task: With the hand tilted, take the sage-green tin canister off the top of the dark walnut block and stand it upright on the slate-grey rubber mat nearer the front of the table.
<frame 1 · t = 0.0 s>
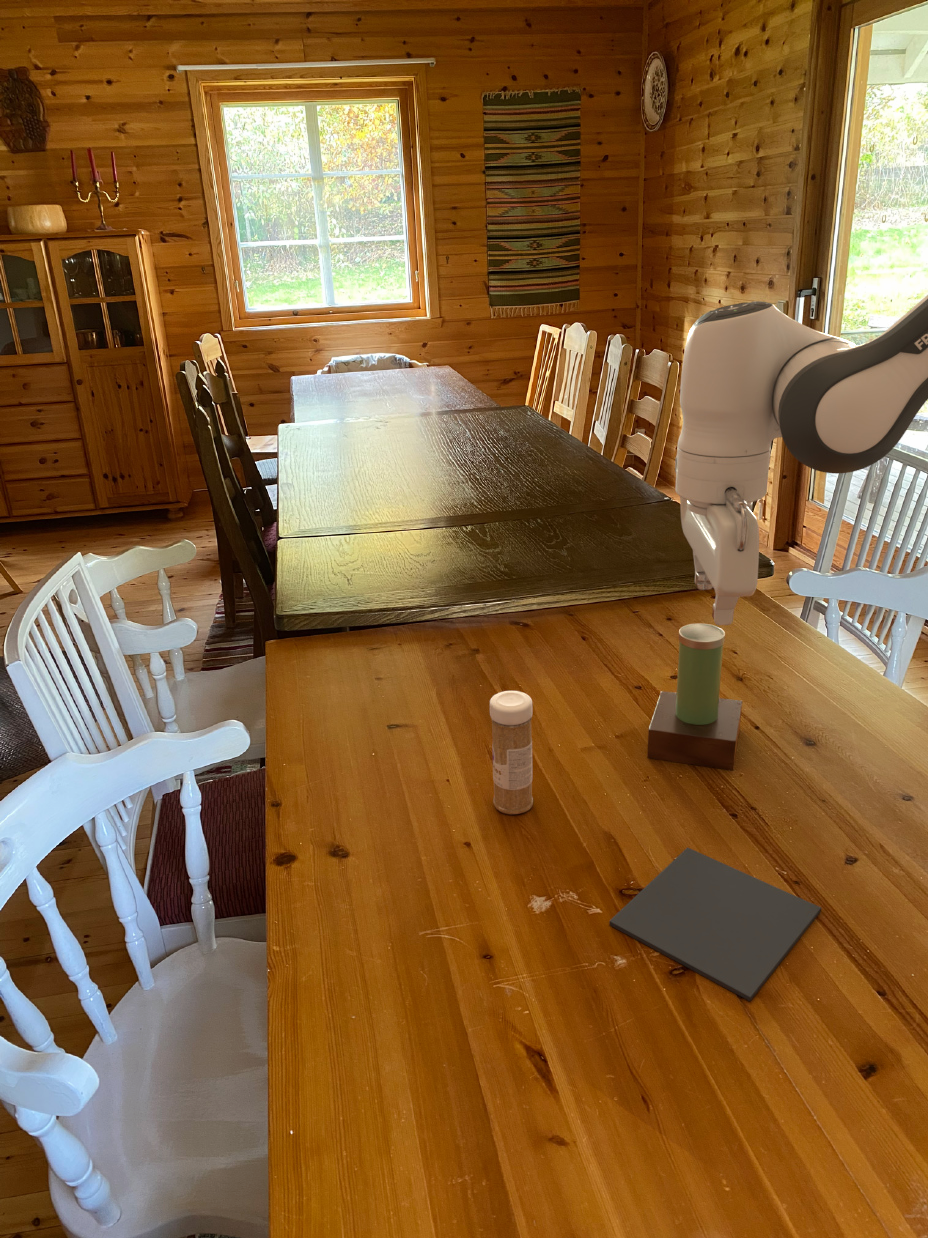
hand: (712, 604, 96), 22 cm above the table, tool pointing down, fingers open, 8 cm apart
walnut block: (694, 743, 113), on the table, touching green canister
rubber mat: (715, 918, 85), on the table
sprinkles bottle: (513, 806, 103), on the table
green canister: (696, 714, 111), point 4 cm above the table, touching walnut block
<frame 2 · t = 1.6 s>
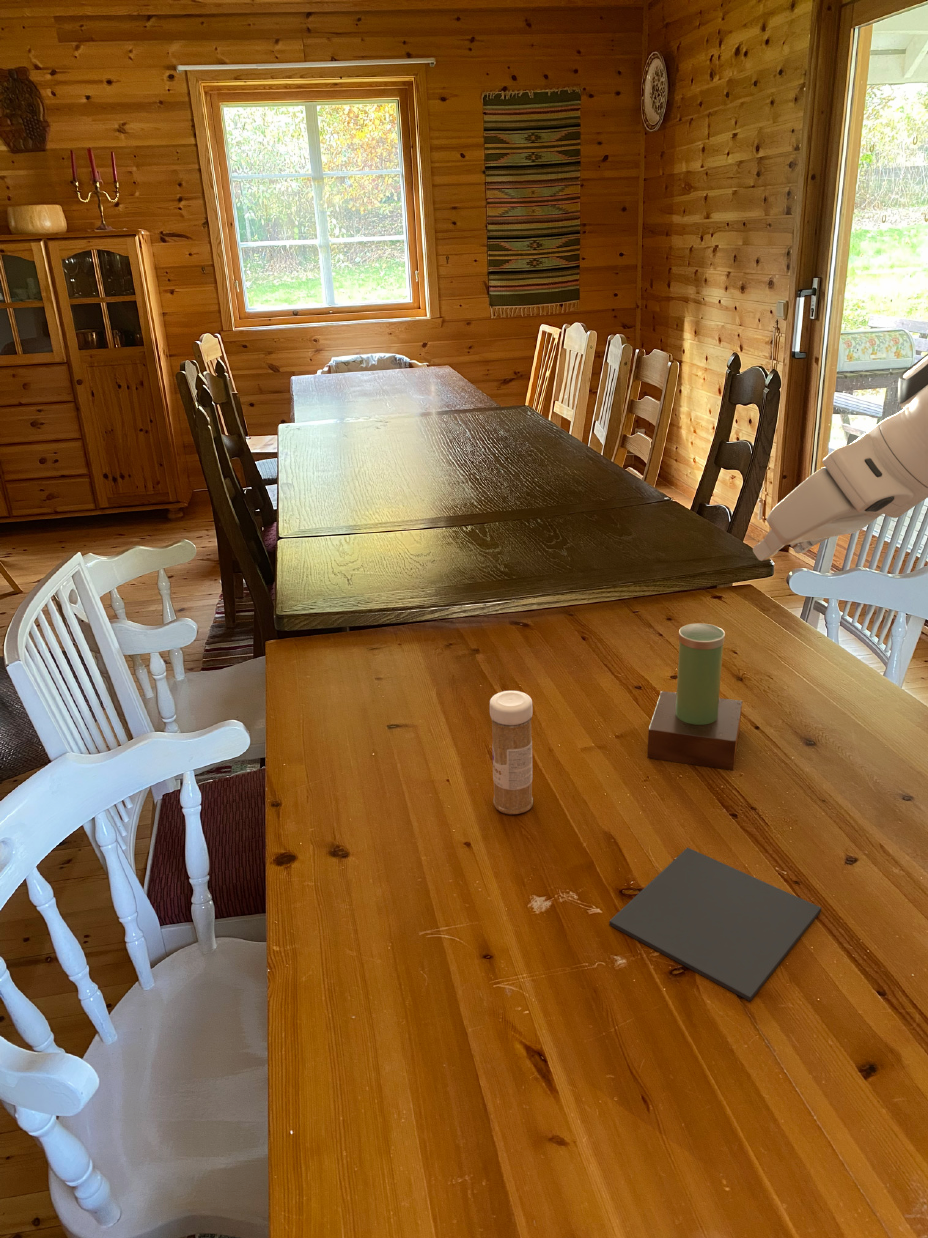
hand: (777, 551, 102), 25 cm above the table, tool tilted 45°, fingers open, 8 cm apart
nothing on the table moved.
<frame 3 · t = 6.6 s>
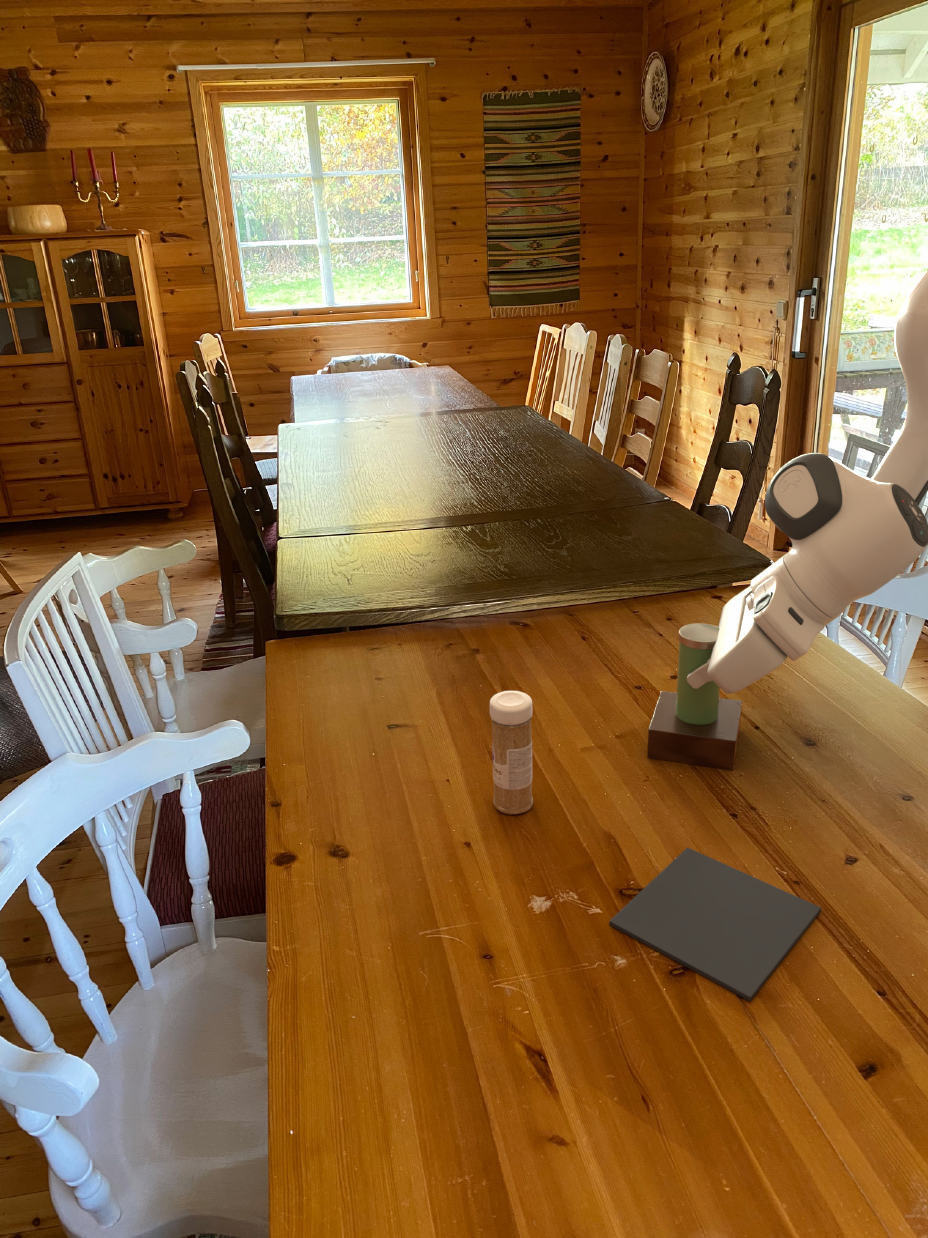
hand: (694, 670, 109), 10 cm above the table, tool tilted 45°, fingers closed on green canister, 5 cm apart
green canister: (696, 714, 111), point 4 cm above the table, touching gripper, walnut block
everything else where it was.
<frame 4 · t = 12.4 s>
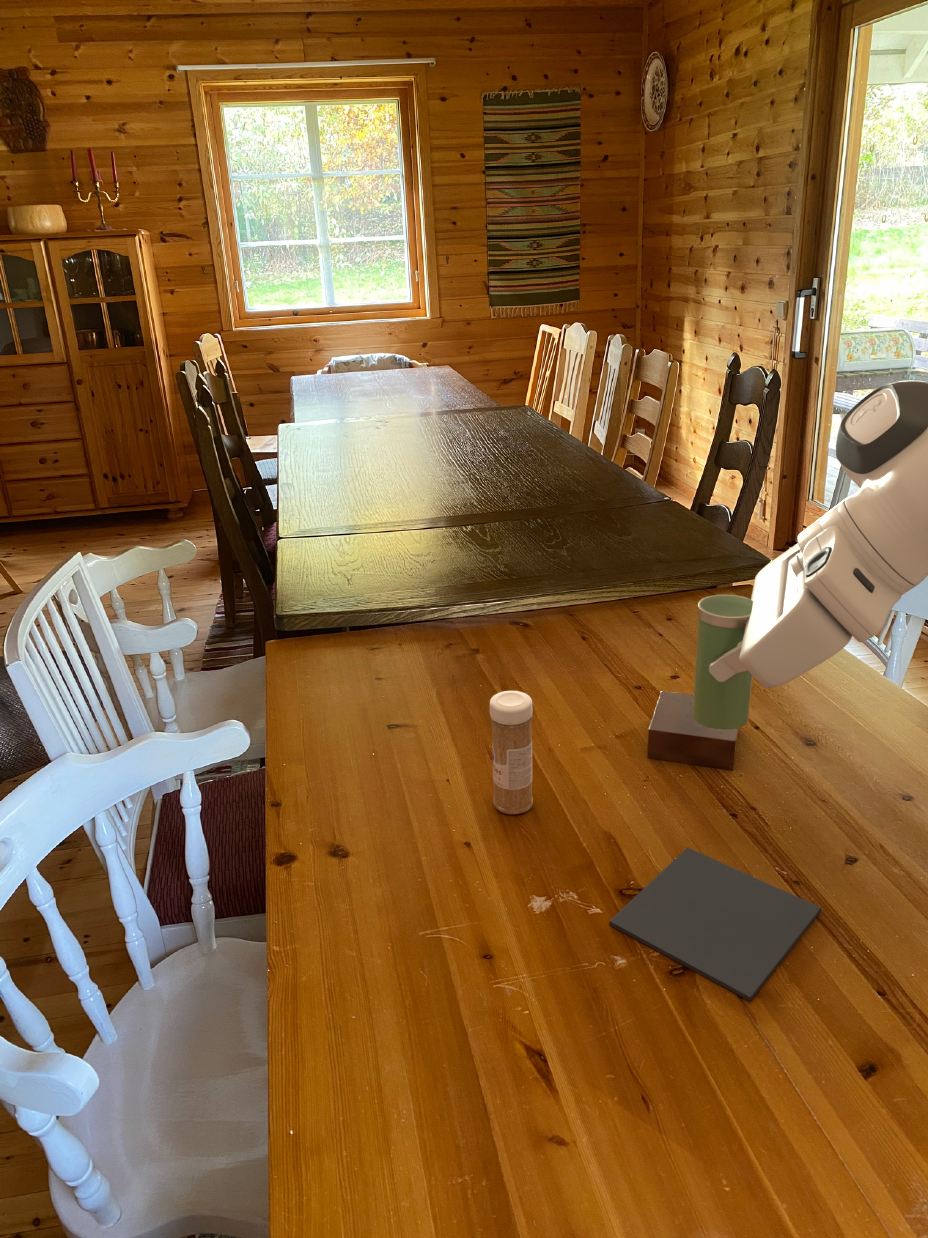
hand: (718, 657, 82), 23 cm above the table, tool tilted 45°, fingers closed on green canister, 5 cm apart
walnut block: (694, 743, 113), on the table
green canister: (720, 716, 84), point 18 cm above the table, touching gripper
everything else where it was.
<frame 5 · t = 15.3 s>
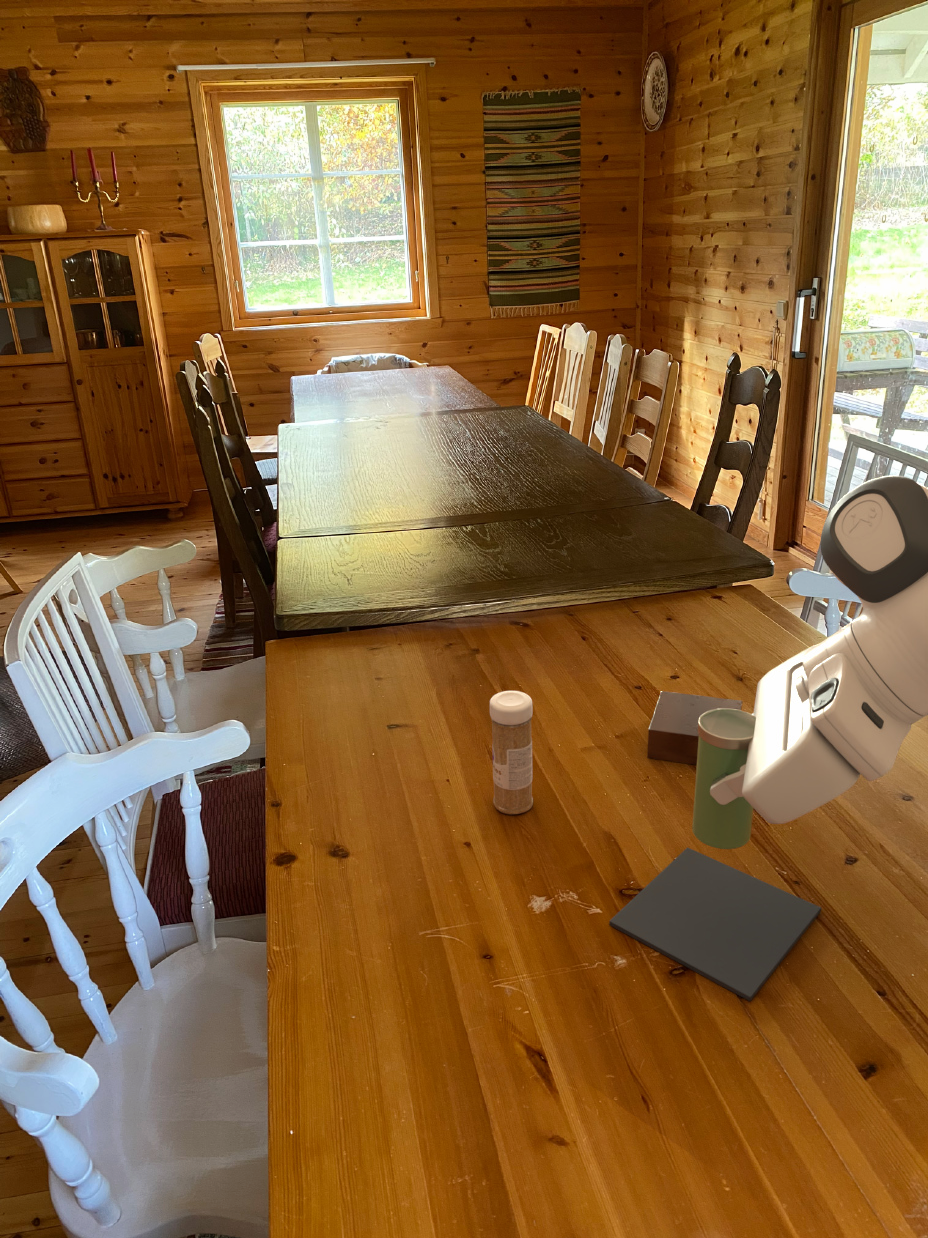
hand: (719, 774, 79), 16 cm above the table, tool tilted 45°, fingers closed on green canister, 5 cm apart
green canister: (721, 831, 81), point 10 cm above the table, touching gripper
everything else where it was.
when the fingers open (6 cm above the table, at t = 18.2 s): green canister stays where it is, resting on rubber mat.
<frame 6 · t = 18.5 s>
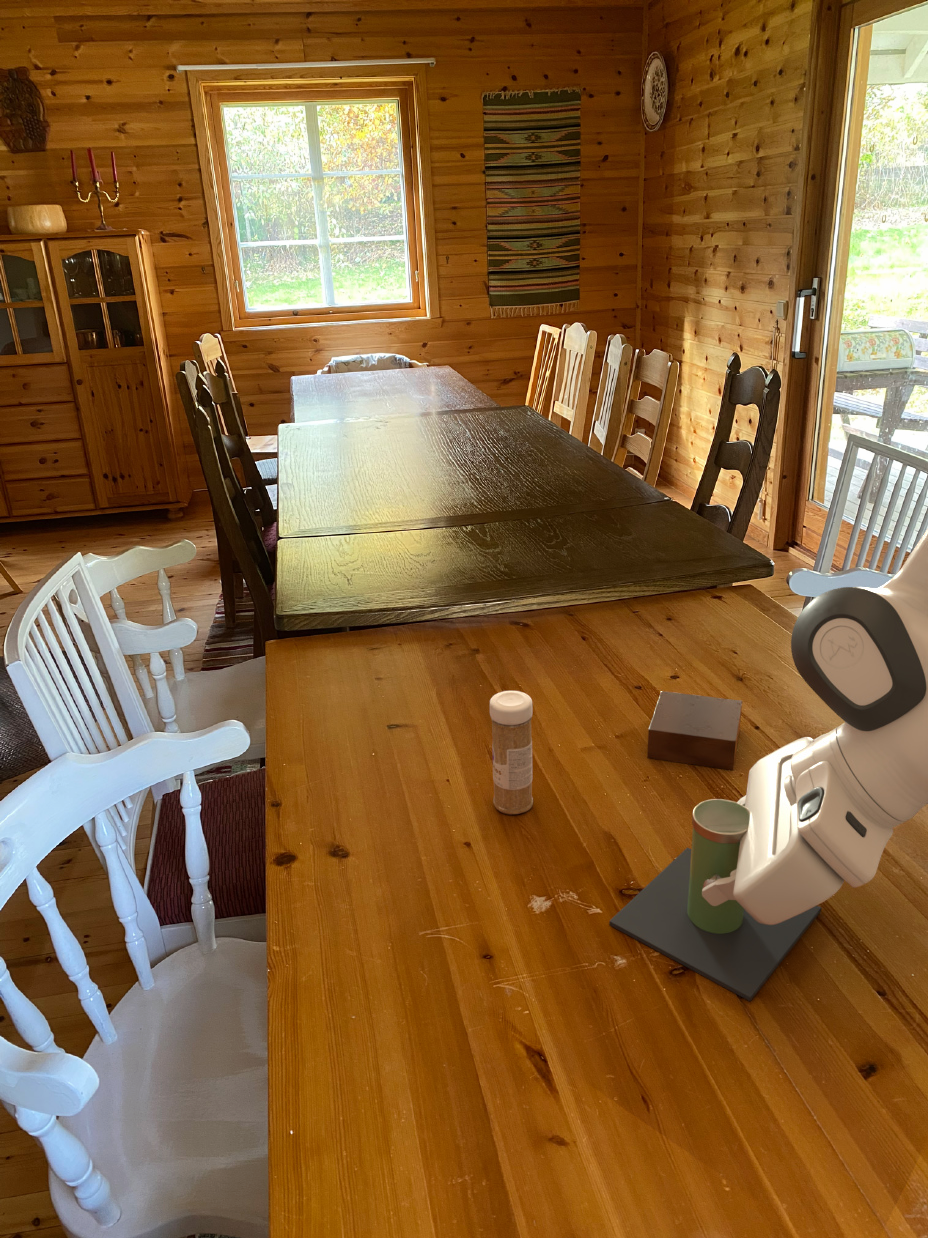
hand: (712, 863, 83), 6 cm above the table, tool tilted 45°, fingers open, 7 cm apart
green canister: (715, 914, 85), point 1 cm above the table, touching rubber mat
everything else where it was.
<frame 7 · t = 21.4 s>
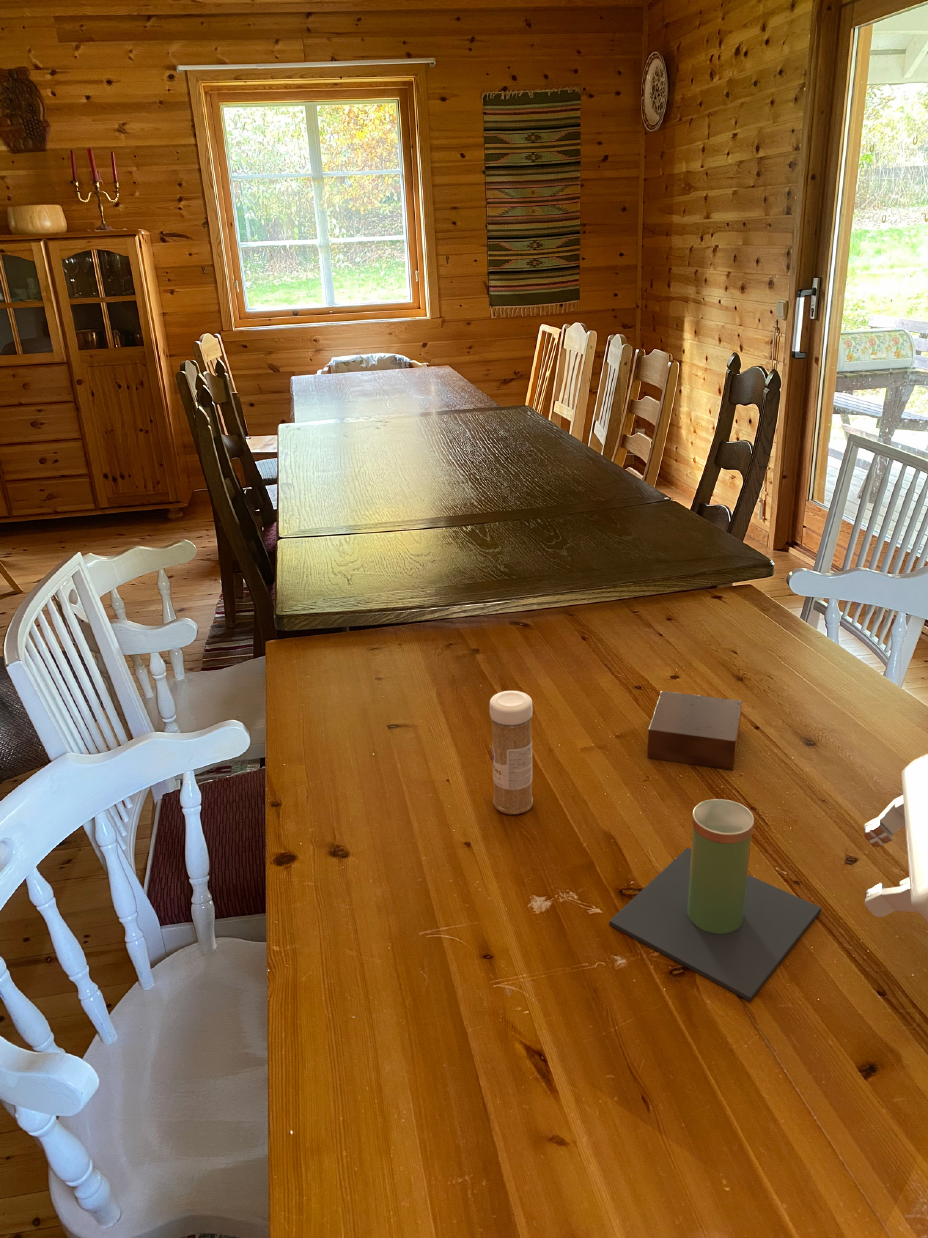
hand: (868, 869, 78), 8 cm above the table, tool tilted 45°, fingers open, 8 cm apart
nothing on the table moved.
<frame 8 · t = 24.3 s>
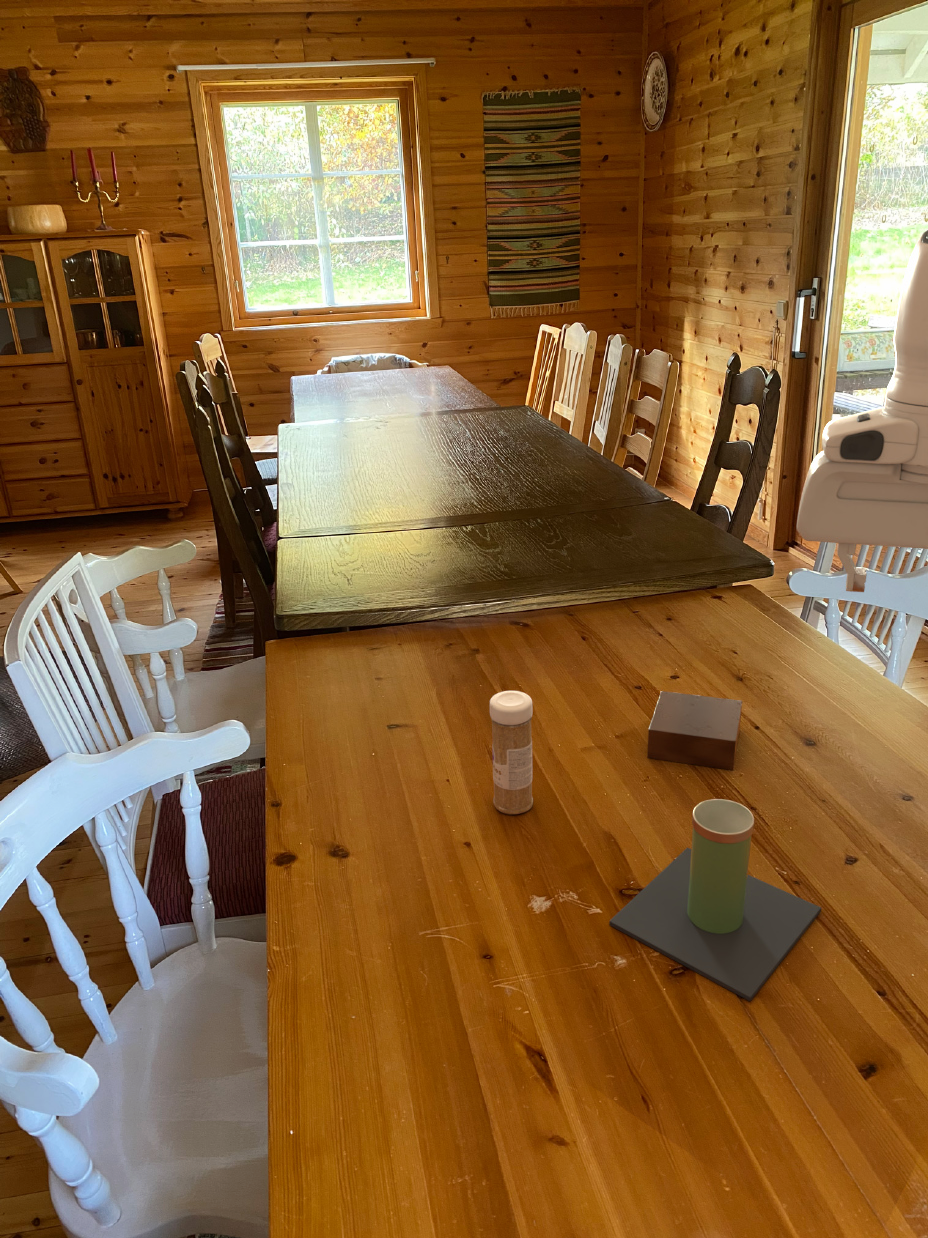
hand: (913, 594, 79), 29 cm above the table, tool pointing down, fingers open, 8 cm apart
nothing on the table moved.
at the end: green canister inside the target area on the rubber mat (0.1 cm from its centre), point 0.5 cm above the rubber mat's base; green canister tilted 0°; walnut block moved 0.0 cm from its start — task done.
